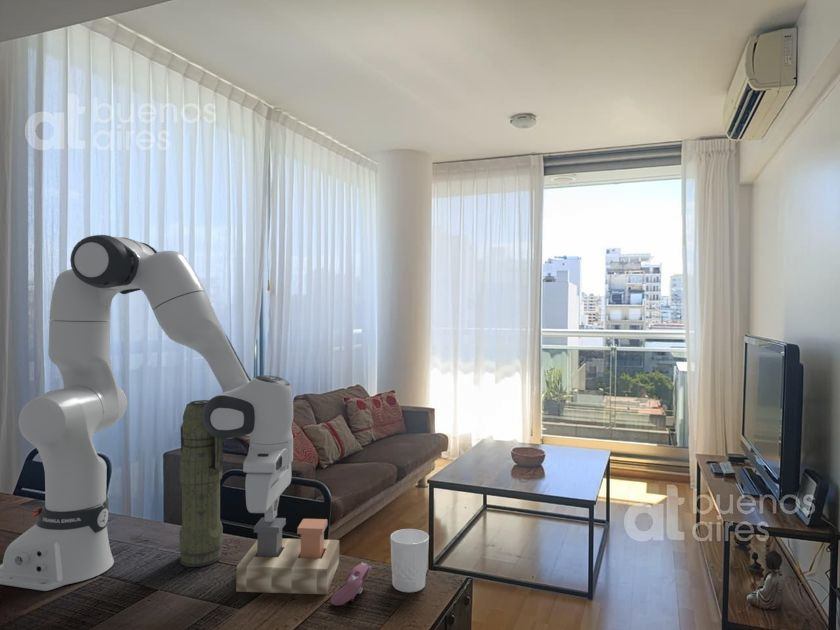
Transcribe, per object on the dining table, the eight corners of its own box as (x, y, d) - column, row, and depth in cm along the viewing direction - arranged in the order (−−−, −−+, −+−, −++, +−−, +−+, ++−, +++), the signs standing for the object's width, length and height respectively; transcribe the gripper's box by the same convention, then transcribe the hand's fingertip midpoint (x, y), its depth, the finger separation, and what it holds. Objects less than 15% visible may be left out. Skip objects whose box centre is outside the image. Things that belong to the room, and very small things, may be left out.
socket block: (236, 591, 110) (236, 566, 110) (258, 560, 124) (259, 537, 124) (326, 594, 110) (327, 569, 110) (338, 562, 124) (339, 540, 124)
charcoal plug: (253, 559, 115) (253, 526, 115) (261, 548, 120) (261, 517, 120) (278, 560, 115) (278, 527, 115) (285, 549, 120) (285, 518, 120)
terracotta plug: (296, 560, 115) (297, 528, 114) (302, 549, 120) (303, 518, 120) (322, 561, 114) (322, 528, 114) (326, 550, 120) (327, 519, 120)
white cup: (391, 575, 119) (392, 528, 119) (428, 576, 118) (429, 529, 118) (388, 593, 111) (388, 543, 111) (427, 595, 110) (428, 544, 110)
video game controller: (347, 617, 105) (364, 585, 104) (327, 603, 106) (343, 572, 105) (363, 591, 115) (378, 562, 114) (344, 579, 115) (359, 550, 115)
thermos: (195, 546, 131) (195, 397, 131) (235, 554, 127) (235, 400, 127) (165, 561, 123) (165, 403, 123) (207, 571, 119) (207, 406, 118)
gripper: (271, 441, 128) (270, 501, 128) (239, 466, 107) (239, 538, 107) (298, 442, 127) (298, 502, 128) (272, 467, 107) (271, 538, 107)
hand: (270, 519), depth 117 cm, fingers closed
